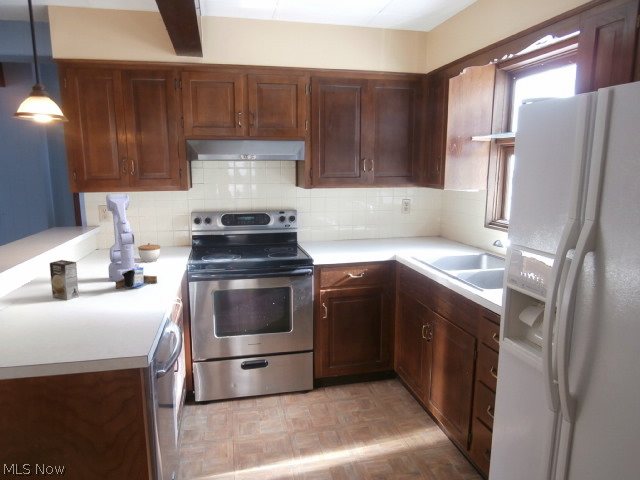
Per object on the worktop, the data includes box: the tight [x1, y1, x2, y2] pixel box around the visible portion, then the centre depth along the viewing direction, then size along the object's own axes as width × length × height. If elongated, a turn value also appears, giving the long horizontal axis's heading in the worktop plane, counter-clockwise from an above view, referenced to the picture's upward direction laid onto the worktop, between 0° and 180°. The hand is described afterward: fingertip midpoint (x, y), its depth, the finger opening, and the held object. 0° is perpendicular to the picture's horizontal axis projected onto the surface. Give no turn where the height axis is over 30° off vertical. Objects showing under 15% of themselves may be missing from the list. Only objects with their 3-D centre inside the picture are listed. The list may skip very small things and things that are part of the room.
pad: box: [124, 283, 151, 290], centre depth 212 cm, size 7×11×1 cm, turn 170°
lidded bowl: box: [137, 242, 161, 263], centre depth 264 cm, size 13×13×11 cm
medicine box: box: [132, 266, 144, 287], centre depth 209 cm, size 8×4×9 cm, turn 172°
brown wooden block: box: [115, 274, 158, 290], centre depth 211 cm, size 13×14×4 cm
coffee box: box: [49, 259, 80, 301], centre depth 191 cm, size 9×6×16 cm
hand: (129, 286), depth 204 cm, fingers closed, pressing on medicine box
